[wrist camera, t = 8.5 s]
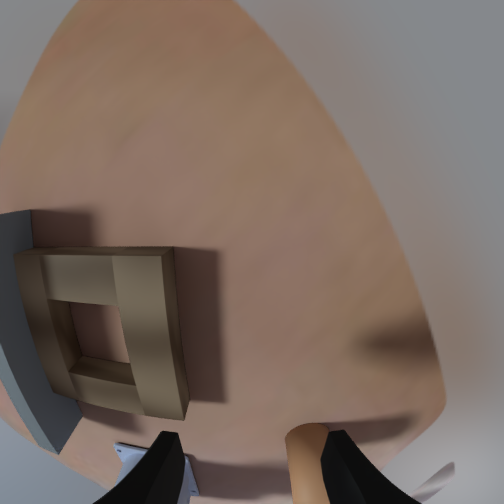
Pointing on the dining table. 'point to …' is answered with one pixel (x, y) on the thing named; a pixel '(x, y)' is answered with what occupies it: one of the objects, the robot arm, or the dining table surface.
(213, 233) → the dining table surface
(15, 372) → the wall
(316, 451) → the dowel
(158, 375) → the socket block
